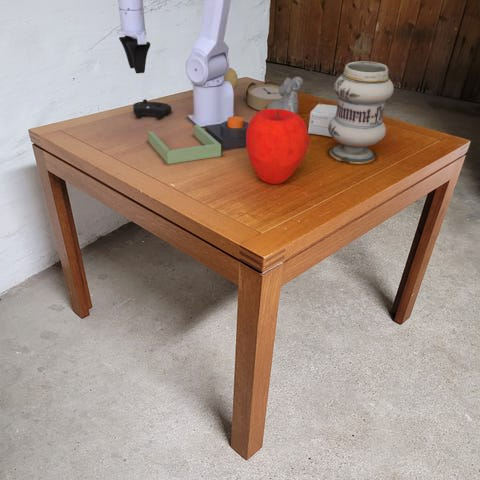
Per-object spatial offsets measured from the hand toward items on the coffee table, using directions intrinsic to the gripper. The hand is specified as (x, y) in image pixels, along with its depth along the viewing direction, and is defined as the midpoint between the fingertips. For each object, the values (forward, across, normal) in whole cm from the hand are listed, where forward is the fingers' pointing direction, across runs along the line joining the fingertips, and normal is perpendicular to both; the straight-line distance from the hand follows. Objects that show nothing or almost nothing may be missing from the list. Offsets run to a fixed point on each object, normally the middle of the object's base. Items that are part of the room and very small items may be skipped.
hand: (137, 70), depth 130 cm
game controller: (+9, +10, 0) cm, 13 cm away
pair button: (+5, +34, +12) cm, 37 cm away
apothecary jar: (+9, +50, +33) cm, 61 cm away
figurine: (+9, +26, +28) cm, 39 cm away
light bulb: (+9, +10, +20) cm, 24 cm away
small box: (+9, +36, +36) cm, 51 cm away
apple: (+9, +56, +11) cm, 57 cm away
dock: (+8, +34, 0) cm, 35 cm away
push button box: (+8, +32, +12) cm, 36 cm away
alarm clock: (+9, +10, +32) cm, 35 cm away
